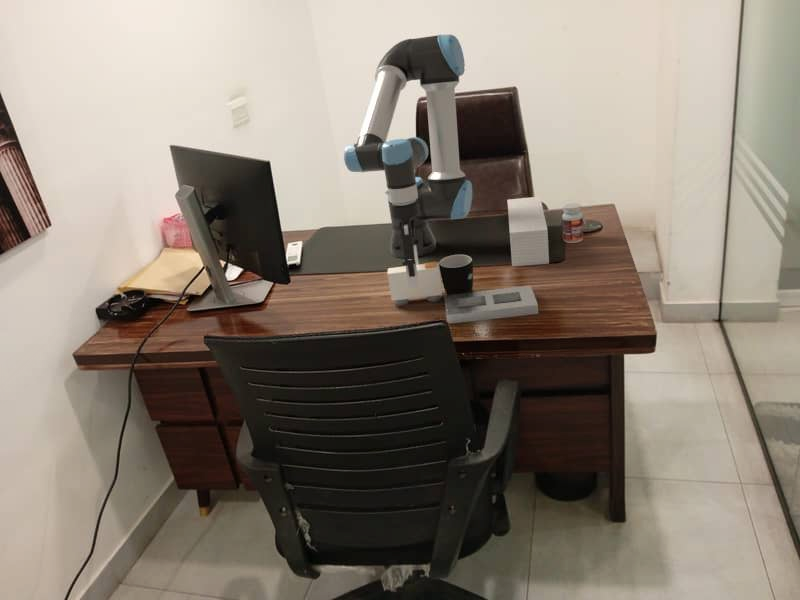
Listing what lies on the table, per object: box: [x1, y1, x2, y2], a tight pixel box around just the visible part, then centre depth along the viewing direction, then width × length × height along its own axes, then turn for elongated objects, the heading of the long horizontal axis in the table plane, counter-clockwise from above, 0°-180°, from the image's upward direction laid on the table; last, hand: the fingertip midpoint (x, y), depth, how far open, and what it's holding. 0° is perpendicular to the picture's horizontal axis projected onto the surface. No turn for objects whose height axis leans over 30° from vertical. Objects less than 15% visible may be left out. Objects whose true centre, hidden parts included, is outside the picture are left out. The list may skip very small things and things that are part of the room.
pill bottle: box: [561, 202, 584, 244], centre depth 207 cm, size 6×6×11 cm
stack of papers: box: [506, 196, 550, 267], centre depth 208 cm, size 32×11×11 cm, turn 173°
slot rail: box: [443, 285, 539, 325], centre depth 174 cm, size 12×23×2 cm, turn 89°
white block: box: [387, 261, 444, 307], centre depth 183 cm, size 4×14×10 cm, turn 89°
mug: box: [438, 254, 474, 295], centre depth 184 cm, size 12×9×10 cm
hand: (414, 276), depth 181 cm, fingers open, 13 cm apart
